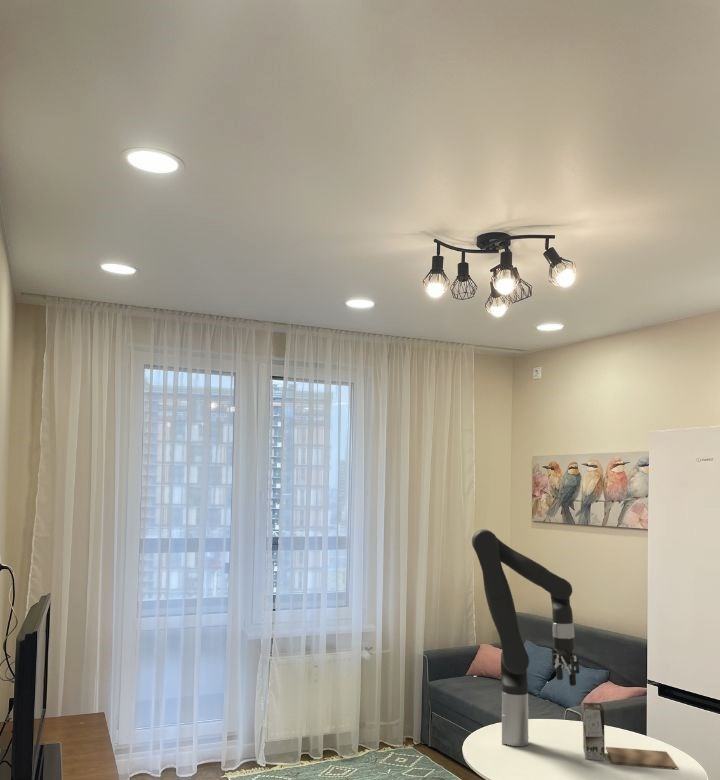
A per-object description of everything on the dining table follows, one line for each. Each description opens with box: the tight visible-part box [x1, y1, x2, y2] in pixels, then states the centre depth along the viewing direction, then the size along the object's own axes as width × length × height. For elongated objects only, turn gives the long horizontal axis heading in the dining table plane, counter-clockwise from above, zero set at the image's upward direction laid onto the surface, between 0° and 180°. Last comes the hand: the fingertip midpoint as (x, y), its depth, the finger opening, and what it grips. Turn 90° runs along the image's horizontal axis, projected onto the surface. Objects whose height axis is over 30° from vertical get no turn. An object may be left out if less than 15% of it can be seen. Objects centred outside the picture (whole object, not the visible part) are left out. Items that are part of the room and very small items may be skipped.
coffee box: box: [582, 702, 606, 762], centre depth 256 cm, size 9×6×16 cm
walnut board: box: [605, 746, 678, 769], centre depth 253 cm, size 20×15×1 cm
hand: (566, 682), depth 267 cm, fingers open, 8 cm apart
